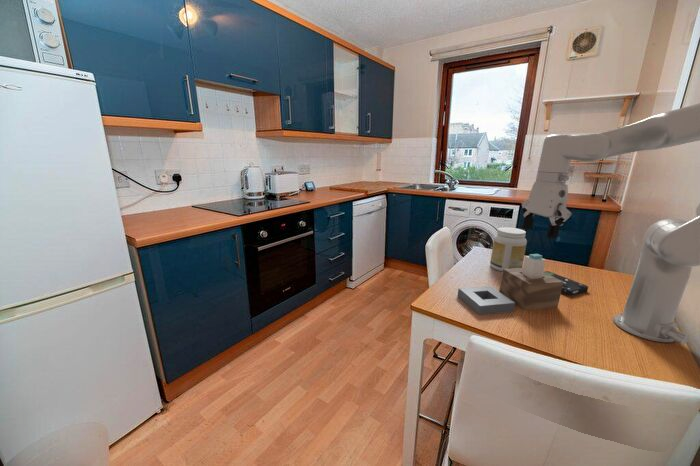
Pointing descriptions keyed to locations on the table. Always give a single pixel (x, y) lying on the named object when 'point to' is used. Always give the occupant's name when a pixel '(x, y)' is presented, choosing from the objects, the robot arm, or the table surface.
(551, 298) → the upper socket tower
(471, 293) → the lower socket plate
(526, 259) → the plug peg
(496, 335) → the table surface
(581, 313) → the table surface
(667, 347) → the table surface
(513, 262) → the supplement tub
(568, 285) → the disk drive
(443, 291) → the table surface
